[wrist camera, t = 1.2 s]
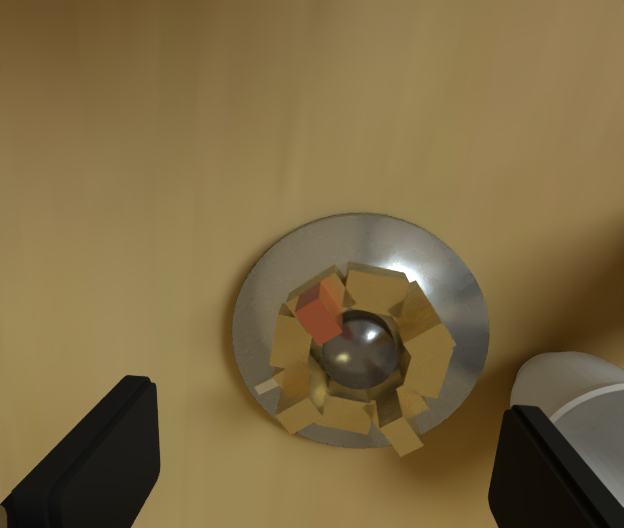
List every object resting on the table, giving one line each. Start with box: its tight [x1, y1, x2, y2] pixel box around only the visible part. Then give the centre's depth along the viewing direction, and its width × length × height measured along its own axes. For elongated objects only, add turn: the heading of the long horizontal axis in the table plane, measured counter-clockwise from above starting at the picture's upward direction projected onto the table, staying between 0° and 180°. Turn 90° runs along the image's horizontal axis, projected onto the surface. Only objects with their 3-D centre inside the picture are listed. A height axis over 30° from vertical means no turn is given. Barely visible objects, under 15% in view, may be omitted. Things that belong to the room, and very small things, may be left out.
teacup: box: [510, 351, 624, 507], centre depth 31 cm, size 12×15×10 cm
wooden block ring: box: [269, 261, 456, 457], centre depth 31 cm, size 14×14×6 cm
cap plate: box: [232, 213, 489, 448], centre depth 34 cm, size 22×22×4 cm
